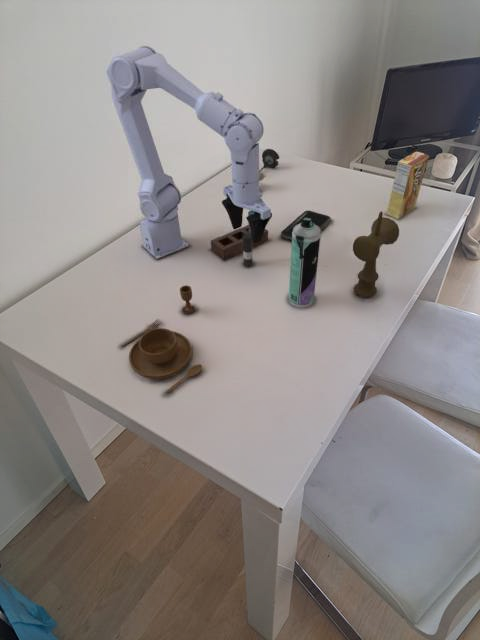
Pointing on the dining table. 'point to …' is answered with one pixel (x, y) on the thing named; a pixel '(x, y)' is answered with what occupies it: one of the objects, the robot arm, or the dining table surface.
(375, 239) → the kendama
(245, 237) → the black marker
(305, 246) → the spray can
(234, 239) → the marker stand
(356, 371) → the dining table surface
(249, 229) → the teal marker
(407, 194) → the candy box
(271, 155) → the artificial flower
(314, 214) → the phone
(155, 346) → the place setting
